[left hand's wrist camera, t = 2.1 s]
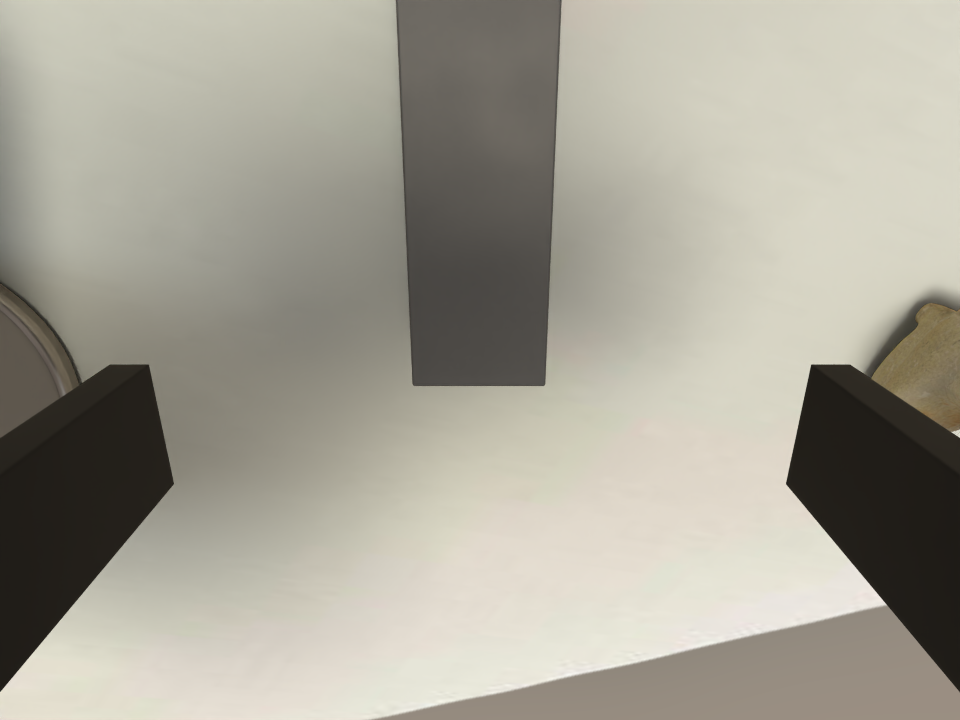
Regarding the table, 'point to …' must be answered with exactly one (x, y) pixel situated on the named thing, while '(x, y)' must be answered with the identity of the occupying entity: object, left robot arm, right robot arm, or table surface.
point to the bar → (478, 185)
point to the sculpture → (928, 366)
